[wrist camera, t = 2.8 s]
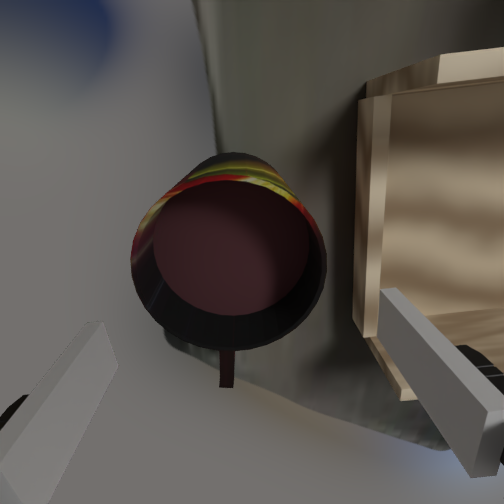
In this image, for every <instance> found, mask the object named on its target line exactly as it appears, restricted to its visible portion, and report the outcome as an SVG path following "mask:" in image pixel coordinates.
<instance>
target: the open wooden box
mask: <svg viewBox="0 0 504 504" xmlns="http://www.w3.org/2000/svg"><path fill="white" fill-rule="evenodd" d="M395 287H396V288H397V289H398V290H399V291H400V292H401V293H402V294H403V295H404V296H405V297H406V298H407V299H408V300H409V301H410V302H411V303H412V304H413V305H414V306H415V307H416V308H417V309H418V310H419V311H420V312H421V313H422V314H423V315H424V316H425V317H426V318H427V319H428V320H429V321H430V322H431V323H432V324H433V325H434V326H435V327H436V328H437V329H438V330H439V331H440V332H441V333H442V334H443V335H444V336H445V337H446V338H447V339H448V340H449V341H450V342H451V343H452V344H453V345H454V346H457V345H468V346H469V347H471V348H473V349H475V350H477V351H478V352H480V353H482V354H483V355H484V356H485V357H486V358H487V359H488V360H489V361H490V362H492V363H493V364H494V367H497V368H498V369H499V370H500V371H501V372H502V373H504V47H500V48H492V49H483V50H475V51H467V52H458V53H450V54H441V55H438V56H435V57H432V58H430V59H427V60H424V61H421V62H419V63H416V64H413V65H410V66H408V67H405V68H402V69H399V70H397V71H394V72H391V73H388V74H386V75H383V76H380V77H377V78H375V79H372V80H369V81H367V86H366V99H361V100H358V125H357V162H356V200H355V238H354V276H353V313H352V319H353V321H354V322H355V324H356V326H357V327H358V329H359V331H360V333H361V334H362V336H363V338H364V339H365V341H366V342H367V344H368V346H369V348H370V349H371V351H372V353H373V355H374V356H375V358H376V360H377V362H378V363H379V365H380V367H381V368H382V370H383V372H384V374H385V375H386V377H387V379H388V381H389V382H390V384H391V386H392V387H393V389H394V391H395V393H396V394H397V396H398V398H399V400H400V401H406V400H415V399H418V398H417V397H416V395H415V394H414V392H413V391H412V389H411V388H410V386H409V385H408V383H407V382H406V380H405V379H404V377H403V376H402V374H401V372H400V371H399V369H398V368H397V366H396V365H395V363H394V362H393V360H392V359H391V357H390V356H389V354H388V353H387V351H386V350H385V348H384V347H383V345H382V344H381V342H380V341H379V339H378V338H377V327H378V311H379V294H380V289H387V288H395Z"/></svg>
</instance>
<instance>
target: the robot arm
mask: <svg viewBox="0 0 504 504" xmlns="http://www.w3.org/2000/svg"><path fill="white" fill-rule="evenodd" d="M377 338H378V339H379V341H380V342H381V344H382V345H383V347H384V348H385V350H386V351H387V353H388V354H389V356H390V357H391V359H392V360H393V362H394V363H395V365H396V366H397V368H398V369H399V371H400V372H401V374H402V376H403V377H404V379H405V380H406V382H407V383H408V385H409V386H410V388H411V389H412V391H413V392H414V394H415V395H416V397H417V398H418V400H419V401H420V403H421V404H422V406H423V407H424V409H425V410H426V412H427V413H428V415H429V416H430V418H431V419H432V421H433V422H434V424H435V425H436V427H437V428H438V430H439V431H440V433H441V434H442V436H443V437H444V439H445V440H446V442H447V443H448V445H449V446H450V448H451V449H452V451H453V452H454V454H455V455H456V456H457V458H458V459H459V461H460V462H461V464H462V466H463V467H464V469H465V470H466V472H467V473H468V474H469V476H470V478H477V477H486V476H495V475H497V472H498V469H499V465H500V462H501V463H502V464H503V465H504V373H502V372H501V371H500V370H499V369H498V368H497V367H494V364H493V363H492V362H490V361H489V360H488V359H487V358H486V357H485V356H484V355H483V354H482V353H480V352H478V351H477V350H475V349H473V348H471V347H469V346H468V345H457V346H454V345H453V344H452V343H451V342H450V341H449V340H448V339H447V338H446V337H445V336H444V335H443V334H442V333H441V332H440V331H439V330H438V329H437V328H436V327H435V326H434V325H433V324H432V323H431V322H430V321H429V320H428V319H427V318H426V317H425V316H424V315H423V314H422V313H421V312H420V311H419V310H418V309H417V308H416V307H415V306H414V305H413V304H412V303H411V302H410V301H409V300H408V299H407V298H406V297H405V296H404V295H403V294H402V293H401V292H400V291H399V290H398V289H397V288H396V287H395V288H387V289H380V294H379V311H378V327H377ZM118 367H119V365H118V362H117V359H116V357H115V354H114V351H113V348H112V345H111V342H110V339H109V337H108V334H107V331H106V328H105V325H104V322H103V321H96V322H88V323H86V324H85V326H84V327H83V328H82V329H81V331H80V332H79V333H78V334H77V336H76V337H75V338H74V339H73V341H72V342H71V343H70V344H69V346H68V347H67V348H66V350H65V351H64V352H63V353H62V354H61V356H60V357H59V358H58V359H57V361H56V362H55V363H54V364H53V366H52V367H51V368H50V369H49V371H48V372H47V373H46V374H45V376H44V377H43V378H42V380H41V381H40V382H39V383H38V384H37V386H36V387H35V388H34V389H33V391H32V392H31V393H30V394H29V395H23V396H22V397H21V398H19V399H18V400H17V401H15V402H14V403H13V404H12V405H10V406H9V407H8V408H7V409H6V411H5V412H4V413H3V414H2V415H1V417H0V504H48V503H49V501H50V499H51V497H52V495H53V493H54V491H55V490H56V488H57V485H58V483H59V482H60V480H61V478H62V476H63V474H64V472H65V470H66V468H67V466H68V464H69V462H70V460H71V458H72V456H73V454H74V453H75V451H76V449H77V447H78V445H79V443H80V441H81V439H82V437H83V435H84V433H85V431H86V429H87V427H88V425H89V423H90V421H91V419H92V418H93V416H94V414H95V412H96V409H97V408H98V406H99V404H100V402H101V400H102V398H103V396H104V394H105V392H106V390H107V388H108V386H109V385H110V383H111V381H112V379H113V377H114V375H115V373H116V371H117V369H118Z"/></svg>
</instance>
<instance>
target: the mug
mask: <svg viewBox="0 0 504 504" xmlns="http://www.w3.org/2000/svg"><path fill="white" fill-rule="evenodd" d="M130 260H131V273H132V278H133V281H134V285H135V288H136V292H137V294H138V296H139V298H140V300H141V301H142V303H143V305H144V307H145V309H146V310H147V311H148V312H149V313H150V315H151V316H152V317H153V318H154V319H155V321H156V322H157V323H159V324H160V325H161V326H162V327H163V328H165V329H166V330H167V331H168V332H170V333H171V334H173V335H175V336H176V337H178V338H180V339H182V340H183V341H186V342H188V343H191V344H193V345H196V346H199V347H203V348H208V349H212V350H220V385H219V387H222V388H233V384H234V362H235V351H240V350H249V349H253V348H257V347H261V346H264V345H267V344H270V343H272V342H274V341H276V340H278V339H281V338H282V337H284V336H285V335H287V334H288V333H290V332H291V331H293V330H294V329H296V328H297V327H298V326H299V325H300V324H301V323H302V322H303V321H304V320H305V319H306V318H307V317H308V315H309V314H310V313H311V311H312V310H313V308H314V307H315V305H316V304H317V302H318V300H319V297H320V295H321V293H322V290H323V288H324V283H325V278H326V273H327V253H326V249H325V245H324V240H323V236H322V234H321V232H320V230H319V228H318V226H317V224H316V222H315V220H314V219H313V217H312V216H311V215H310V213H309V212H308V211H307V210H306V208H305V207H304V206H303V205H302V203H301V202H300V201H299V199H298V198H297V197H296V196H295V194H294V193H293V192H292V190H291V189H290V188H289V187H288V185H287V184H286V183H285V181H284V180H283V179H282V178H281V176H280V175H279V174H278V173H277V171H276V170H275V169H274V168H273V167H271V166H270V165H269V164H268V163H267V162H265V161H263V160H261V159H260V158H258V157H256V156H252V155H249V154H246V153H236V152H231V153H222V154H219V155H216V156H213V157H210V158H209V159H207V160H205V161H203V162H202V163H200V164H199V165H198V166H197V167H196V168H194V169H193V170H192V171H191V172H190V173H189V174H188V175H186V176H185V177H184V178H183V179H182V180H181V181H180V182H178V183H177V184H176V185H175V186H174V187H173V188H172V189H171V190H169V191H168V192H167V193H166V194H165V195H164V196H163V197H162V198H161V199H159V200H158V201H157V202H156V203H155V204H154V205H153V206H152V207H151V208H150V209H149V211H148V213H147V214H146V215H145V217H144V218H143V220H142V221H141V223H140V225H139V227H138V229H137V232H136V235H135V237H134V240H133V245H132V251H131V259H130Z"/></svg>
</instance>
